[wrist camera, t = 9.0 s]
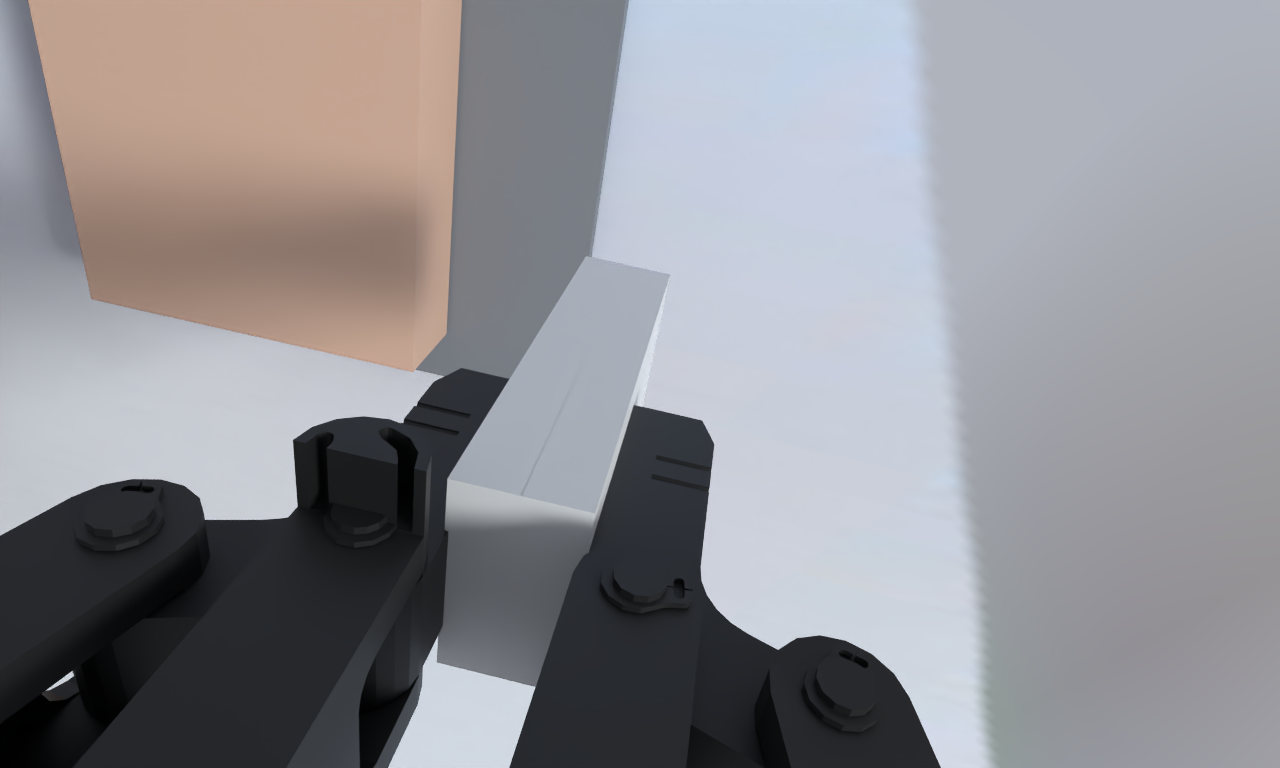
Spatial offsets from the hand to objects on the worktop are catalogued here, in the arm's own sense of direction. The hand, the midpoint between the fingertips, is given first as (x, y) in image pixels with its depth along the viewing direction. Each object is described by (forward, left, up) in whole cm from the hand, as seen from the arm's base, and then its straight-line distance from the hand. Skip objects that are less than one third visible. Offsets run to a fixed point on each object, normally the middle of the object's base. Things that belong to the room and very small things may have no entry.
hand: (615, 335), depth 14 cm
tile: (-6, 0, -6) cm, 8 cm away
